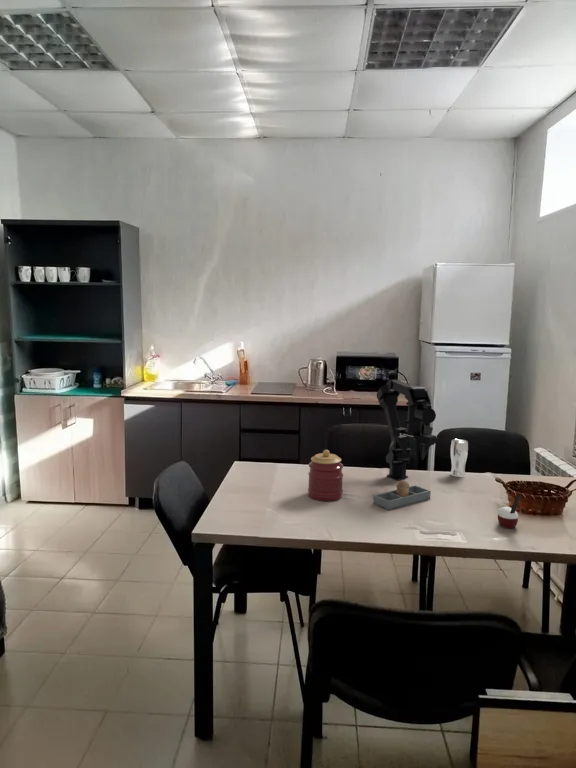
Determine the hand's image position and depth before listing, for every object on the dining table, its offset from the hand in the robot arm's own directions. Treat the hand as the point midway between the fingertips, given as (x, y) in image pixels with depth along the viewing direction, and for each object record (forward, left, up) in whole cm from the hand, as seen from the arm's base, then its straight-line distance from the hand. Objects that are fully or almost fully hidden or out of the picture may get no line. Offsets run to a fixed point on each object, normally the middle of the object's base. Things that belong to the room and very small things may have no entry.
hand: (413, 457), depth 214 cm
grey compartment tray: (+10, -16, -12) cm, 22 cm away
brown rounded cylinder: (+10, -16, -11) cm, 22 cm away
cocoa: (+45, -4, -12) cm, 47 cm away
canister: (-10, -36, -12) cm, 39 cm away
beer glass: (0, +28, -12) cm, 31 cm away
